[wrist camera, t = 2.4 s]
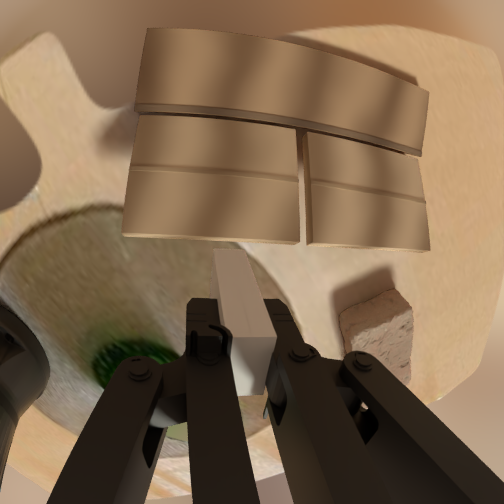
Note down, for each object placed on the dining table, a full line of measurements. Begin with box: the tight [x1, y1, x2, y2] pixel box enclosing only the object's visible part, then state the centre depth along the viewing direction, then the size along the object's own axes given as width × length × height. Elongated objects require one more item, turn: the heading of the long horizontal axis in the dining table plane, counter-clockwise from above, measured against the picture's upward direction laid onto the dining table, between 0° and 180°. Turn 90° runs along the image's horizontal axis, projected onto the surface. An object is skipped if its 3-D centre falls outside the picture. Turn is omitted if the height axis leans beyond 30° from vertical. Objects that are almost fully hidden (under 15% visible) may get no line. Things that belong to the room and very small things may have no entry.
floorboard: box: [134, 28, 429, 157], centre depth 21 cm, size 26×7×2 cm, turn 82°
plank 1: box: [121, 115, 300, 245], centre depth 21 cm, size 12×9×1 cm
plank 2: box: [302, 132, 430, 253], centre depth 23 cm, size 12×9×1 cm
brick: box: [339, 289, 414, 408], centre depth 34 cm, size 17×8×5 cm, turn 19°
